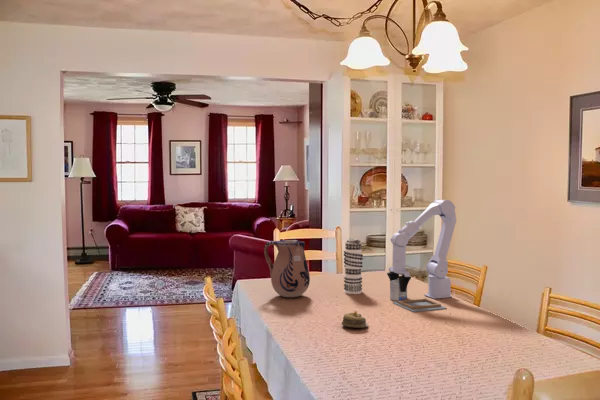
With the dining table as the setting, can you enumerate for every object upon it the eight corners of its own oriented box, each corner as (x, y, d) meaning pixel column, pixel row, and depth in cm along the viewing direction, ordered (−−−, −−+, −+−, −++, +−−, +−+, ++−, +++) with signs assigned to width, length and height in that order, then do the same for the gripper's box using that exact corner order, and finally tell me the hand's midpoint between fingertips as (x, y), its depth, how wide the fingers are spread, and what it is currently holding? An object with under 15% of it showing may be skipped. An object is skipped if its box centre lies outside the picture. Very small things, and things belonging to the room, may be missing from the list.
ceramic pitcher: (309, 300, 228) (309, 243, 227) (261, 299, 229) (262, 243, 228) (309, 291, 246) (310, 239, 245) (265, 291, 246) (265, 238, 245)
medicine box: (398, 301, 227) (398, 281, 227) (389, 299, 230) (389, 280, 230) (407, 298, 233) (407, 279, 233) (398, 296, 236) (398, 277, 236)
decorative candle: (339, 290, 248) (340, 238, 247) (356, 289, 252) (356, 237, 250) (349, 294, 239) (349, 240, 238) (366, 293, 243) (366, 240, 242)
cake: (346, 330, 185) (347, 315, 184) (337, 322, 194) (337, 308, 194) (372, 328, 187) (372, 313, 187) (362, 320, 197) (362, 306, 197)
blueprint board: (424, 300, 229) (424, 296, 229) (446, 308, 214) (446, 305, 214) (392, 303, 224) (392, 299, 224) (413, 312, 209) (413, 308, 209)
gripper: (383, 257, 236) (382, 287, 237) (399, 262, 223) (399, 294, 223) (396, 257, 239) (396, 286, 239) (414, 262, 225) (413, 292, 226)
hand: (398, 290), depth 231 cm, fingers open, 7 cm apart
